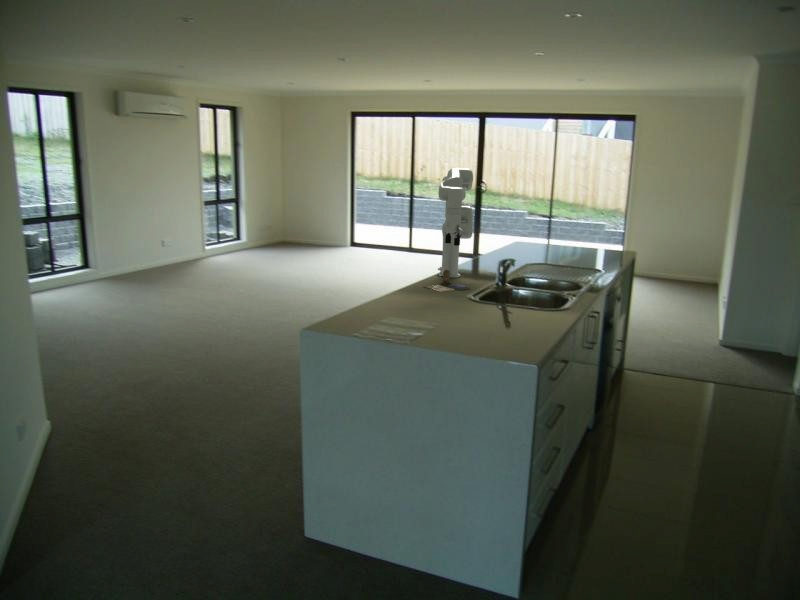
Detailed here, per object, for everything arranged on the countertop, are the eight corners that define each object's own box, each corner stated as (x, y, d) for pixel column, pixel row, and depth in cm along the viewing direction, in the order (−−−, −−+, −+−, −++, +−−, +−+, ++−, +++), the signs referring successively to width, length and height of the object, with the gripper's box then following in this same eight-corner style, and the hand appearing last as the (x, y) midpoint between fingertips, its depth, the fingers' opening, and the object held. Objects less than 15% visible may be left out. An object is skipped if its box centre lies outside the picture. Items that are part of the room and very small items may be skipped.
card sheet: (422, 287, 333) (422, 286, 333) (436, 285, 339) (436, 284, 339) (441, 291, 323) (441, 291, 323) (455, 289, 329) (455, 289, 329)
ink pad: (448, 287, 335) (448, 284, 334) (457, 286, 339) (457, 283, 339) (460, 290, 328) (460, 287, 328) (469, 289, 333) (470, 286, 332)
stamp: (440, 284, 341) (441, 269, 340) (446, 283, 344) (446, 268, 342) (445, 285, 338) (446, 270, 337) (451, 285, 341) (452, 269, 339)
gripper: (440, 210, 337) (438, 242, 340) (455, 212, 322) (454, 246, 325) (452, 210, 340) (450, 242, 343) (468, 213, 325) (466, 246, 328)
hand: (452, 244), depth 334 cm, fingers open, 9 cm apart
